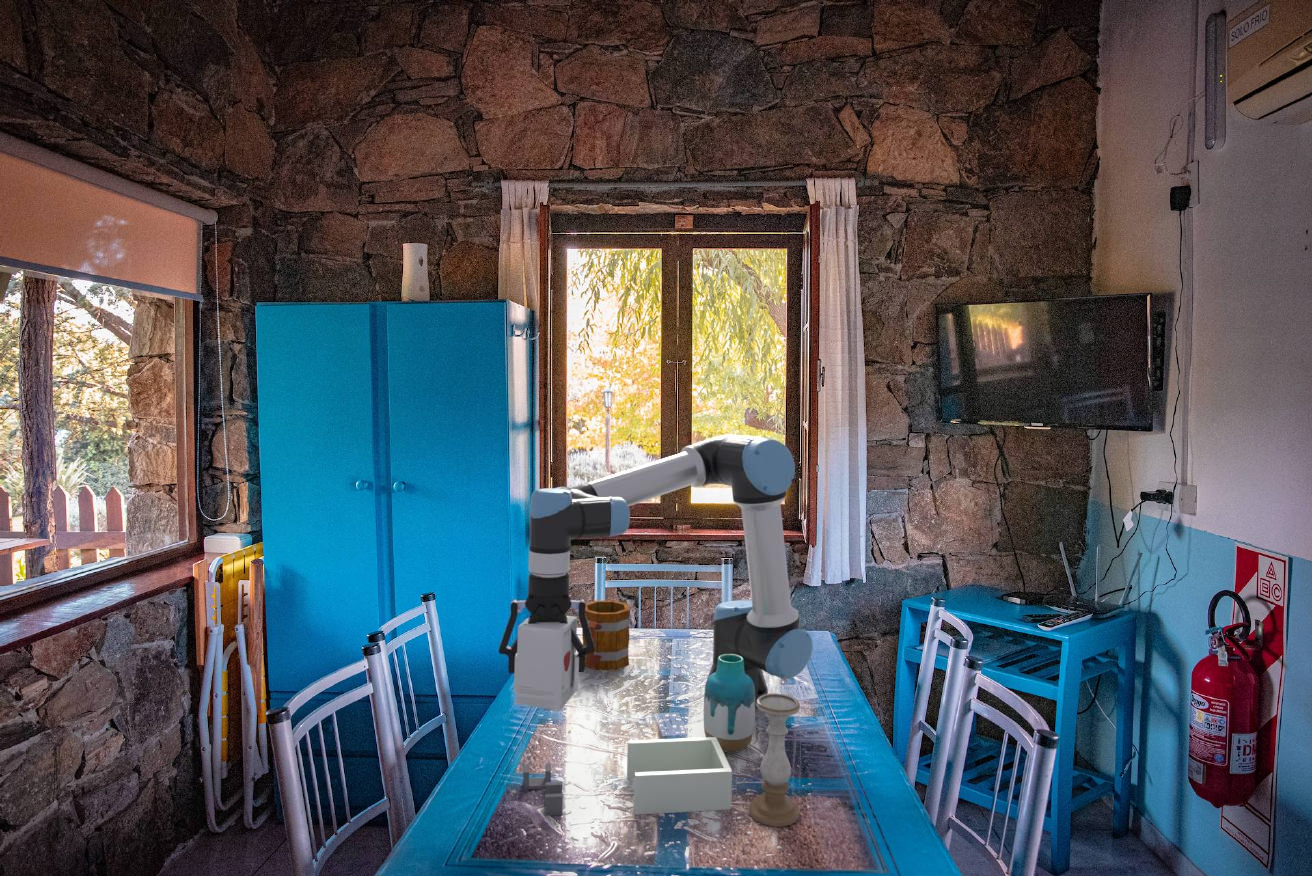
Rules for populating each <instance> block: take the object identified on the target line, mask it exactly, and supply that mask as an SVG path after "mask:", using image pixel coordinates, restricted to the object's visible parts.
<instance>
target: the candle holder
mask: <svg viewBox="0 0 1312 876" xmlns="http://www.w3.org/2000/svg"><path fill="white" fill-rule="evenodd" d="M756 706H757V707H756V708H757V709H758V710H760V712H763V713H764V714H765V716H766V718H768V720H769V724H768V726H767V727H765V728H766V729H765V732H766V733H767V734H768V742H767V743H768V746H767V750H766V751H765V754H764V756H763V759H762V760H761V763H760V766H759V771H760V775H761V778H762V779H763V780H762V781H761V784H760V785H761V788H762V789H763V791H764V792H763V793H761V794H759V795H757V796H756V797H755V798H753V799H752V800H751V801H750V803H749V807H748V809H749V814H750V816H751V817H752V818H753V820H755V821H756V822H758V823H760V824H762V825H765V826H768V827H776V828H777V827H778V828H783V827H784V828H785V827H788V825H789V826H791V825H792V826H793V825H794V824H795V823H797V821H799V818H800V807H799V806H798V805H797V803H795V802H794V801H793V800H792V799H791V798H790V797H789V796H788V795H786V793H787V792H788V791H789V789H790V786H789V784H788V781H789V779H790V778H791V775H792V766H791V763H790V761H789V758H788V756H787V751H786V747H785V745H786V743H785V740H786V739H785V738H786V735H788V733H789V730H788V728H787V726H786V721H787V720H788V719H789V718H790V716H793V715H796V714H797V713H799V712H800V710H801V704H800V702H799V700H798V699H797V698H795V697H793V696H791V695H787V694H783V693H768V694H765V695H762V696H760V697H758V699H757V701H756ZM793 823H794V824H793Z"/></svg>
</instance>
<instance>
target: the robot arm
mask: <svg viewBox="0 0 1312 876" xmlns="http://www.w3.org/2000/svg"><path fill="white" fill-rule="evenodd" d="M795 471H796V465H795V460H794V458H793V455H792V453H791V450H790V449H789V448H788V447H787V446H786V445H785V444H783V443H782V442H780V441H779V440H776V439H773V438H770V437H767V436H766V437H765V436H756V435H755V436H753V435H743V434H742V435H741V434H737V433H736V434H734V433H728V434H723V435H717V436H715V437H711V438H708V439H705V440H702V441H699V442H696V443H693V444H689V445H687V446H684V447H683V448H682V449H681V451H680V453H677V454H673V455H670V456H667V457H663V458H661V459H658V460H655V461H652V462H651V461H650V462H648V463H646V464H641V465H639V466H635V467H633V468H630V469H626V470H623V471H620V472H617V473H615V474H610V475H607V476H604V477H602V478H598V479H596V480H592V481H588V482H585V483H583V484H578V485H576V486H573V487H568V486H558V487H553V488H548V487H547V488H539V489H535V490H534V491H533V492H532V494H531V496H530V504H529V513H528V516H529V548H528V571H529V572H530V573H529V574H528V578H527V579H528V585H527V587H528V588H527V591H528V592H527V598H526V599H525V600H517V599H515V598H514V599H512V600H511V603H510V615H509V618H508V621H507V623H506V626H505V629H504V633H503V636H502V638H501V641H500V644H499V648H498V654H499V655H505V656H506V657H508V661H507V662H508V669H507V670H508V671H507V672H508V673H509V674H510V675H511V674H513V675H514V677H513V678H514V679H513V681H514V683H513V693H514V694H516V675H517V643H518V635H517V637H516V638H515V639H514V641H513V642H512V644H511V646H509V645H508V644H509V642H510V639H511V636H512V633H513V630H514V628H515V624H516V621H517V618H518V614H521V613H522V611H523V609H524V608H526V609H527V611H528V612H529V613H530V616H529V617H528V618H529V619H528V624H536V623H537V622H559V623H565V624H568V621H567V617H566V616H567V615H566V614H567V613H568V612H569V610H570V609H571V608H573V609H574V612H575V613H577V615H578V619H579V622H580V626H581V629H582V630H583V633H584V636H585V640H586V643H587V645H585V646H583V642H582V641H581V639H580V637H579V636H578V634H576V632H575V631H574V630H572V629H571V642H572V644H573V645H574V647H575V649H576V652H575V657H574V692H575V693H576V692H579V675H580V674H579V673H585V670H586V667H585V656H586V655H587V654H588V653H593V652H594V651H595V646H594V642H593V639H592V635H591V632H590V628H589V625H588V621H587V618H586V615H585V604H586V601H585V599H584V598H580V599H578V600H573V599H571V597H570V574H569V573H568V572H569V571H570V570H571V569H570V567H571V561H570V560H571V540H578V539H592V538H606V537H607V538H611V537H615V536H621V535H623V534H625V533H626V532H627V531H628V529H629V527H630V522H631V511H630V508H629V507H630V506H634V505H637V504H640V503H642V502H645V501H648V500H651V499H654V498H657V497H660V496H664V495H666V494H669V493H672V492H674V491H675V492H676V491H678V490H680V489H683V488H684V489H685V488H687V487H689V486H692V487H693V488H701V487H703V486H706V485H707V486H709V485H725V486H729V487H731V492H732V500H733V501H732V502H733V503H734V504H735V505H737V506H738V507H740V509H741V518H742V519H741V520H742V526H743V535H744V544H745V553H746V561H747V571H748V579H749V588H750V597H751V598H750V599H751V600H747V599H745V600H744V599H741V600H740V599H738V600H729V601H723V602H720V603H718V604H717V605H716V607H715V609H714V614H713V620H712V621H713V639H712V641H713V645H712V651H713V652H712V665H711V668H710V670H709V673H708V676H707V678H706V681H705V685H704V687H705V686H706V682H707V679H708V677H709V676H710V675H711V674H713V673H715V672H716V670H717V663H718V657H719V656H721V655H723V654H735V655H739V656H741V657H743V659H744V672H745V674H746V675H748V676H749V677H750V678H751V679H752V681H753V683H754V688H755V708H757V706H756V701H757V699H758V697H760V696H762V695H765V694H769V693H768V692H769V690H768V685H767V682H766V679H765V675H764V672H766V673H767V674H769V675H770V676H772V677H776V678H780V679H784V680H785V679H786V680H787V679H792V678H794V677H796V676H798V675H799V674H800V673H801V672H803V670H804V669H805V668H806V667H807V664H809V662H810V659H811V658H812V654H813V649H814V648H813V644H814V643H813V638H812V636H811V635H810V634H809V633H808V631H807V630H806V629H802V628H801V622H800V614H799V611H798V610H797V609H796V608H795V607H793V606H792V603H791V594H790V593H791V592H790V584H789V583H790V582H789V574H788V563H787V555H786V554H787V553H786V545H785V537H784V527H783V526H784V525H783V515H782V508H781V507H782V506H781V504H782V502H783V501H785V499H786V497H787V496H788V495H787V491H788V489H789V488H790V487H791V485H792V484H793V483H792V480H794V478H795V474H796V473H795Z"/></svg>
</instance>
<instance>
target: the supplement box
mask: <svg viewBox="0 0 1312 876" xmlns="http://www.w3.org/2000/svg"><path fill="white" fill-rule="evenodd" d="M566 617H567V621H568V624H565V623H559V622H537V623H536V624H528V619H529V617H528V618H525V620H524V621H522V623H520V624H519V625H518V626H517V636H518V643H517V675H516V693H515V705H517V706H526V707H532V708H533V707H534V708H540V709H548V710H549V709H550V710H556V711H561V710H562V709H563V707H564V706H565V705H566V704H567V703H568V702H569V701H570V700H571V698H572V697H573V695H574V694H575V693H576V691H575V692H574V657H575V652H577V650H576V649H575V647H574V645H573V644H572V642H571V629H572V630H574V631H575V632H576V634H577V632H578V631H577V630H578V629H577V628H578V616H574V615H566ZM577 635H578V634H577Z"/></svg>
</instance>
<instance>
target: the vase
mask: <svg viewBox="0 0 1312 876" xmlns="http://www.w3.org/2000/svg"><path fill="white" fill-rule="evenodd" d="M708 676H709V675H708ZM708 676H707V678H708V679H707V678H706V681H707V682H706V681H705V684H706V686H705V685H704V696H703V728H704V734H705V736H704V737H716V738H717V740H718V742H719V744H720V746H721V749H722V751H723V753H729V754H730V753H731V754H732V753H737V752H742V751H744V750H745V749H747V747H749V746H750V744H751V742H752V739H753V737H754V732H755V721H756V707H755V688H754V683H753V681H752V679H751V678H750V677H749V676H748V675H746V674H745V672H744V659H743V657H741V656H739V655H735V654H723V655H721V656H719V657H718V663H717V670H716V672H715V673H713V674H711V675H710V676H709V677H708Z"/></svg>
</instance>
